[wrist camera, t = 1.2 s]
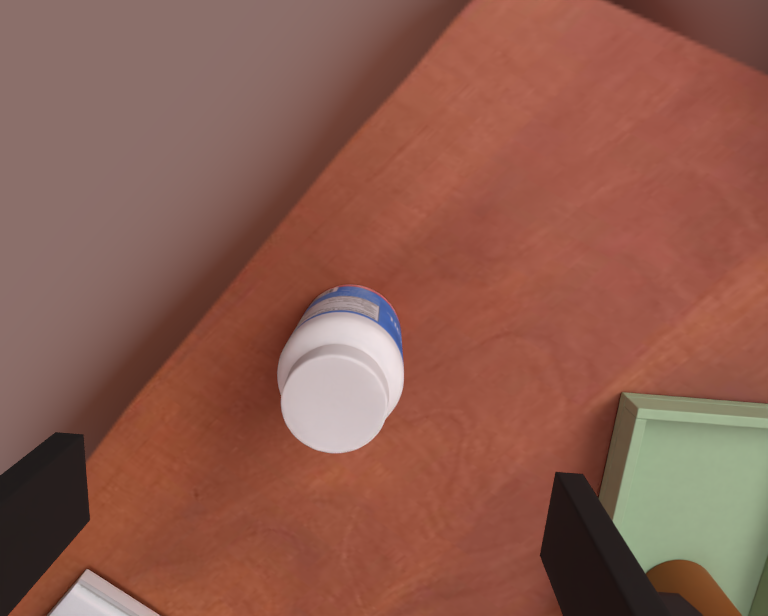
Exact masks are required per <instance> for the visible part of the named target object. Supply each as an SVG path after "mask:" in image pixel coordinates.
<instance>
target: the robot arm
mask: <svg viewBox="0 0 768 616" xmlns="http://www.w3.org/2000/svg"><path fill="white" fill-rule="evenodd" d="M89 521H90V515H89V502H88V489H87V476H86V463H85V450H84V437H83V435H82V434H70V433H57V432H56V433H54V434H53V435H52V436H50V437H49V438H48V439H46V440H45V441H44V442H43V443H41V444H40V445H39V446H37V447H36V448H35V449H34V450H33V451H31V452H30V453H29V454H27V455H26V456H25V457H23V458H22V459H21V460H20V461H18V462H17V463H16V464H14V465H13V466H12V467H11V468H9V469H8V470H7V471H5V472H4V473H3V474H2V475H0V616H8V615H9V613H10V612H11V611H12V610H13V609H14V608H15V606H16V605H17V604H18V603H19V602H20V601H21V599H22V598H23V597H24V596H25V595H26V594H27V593H28V591H29V590H30V589H31V588H32V587H33V586H34V584H35V583H36V582H37V581H38V580H39V579H40V577H41V576H42V575H43V574H44V573H45V572H46V570H47V569H48V568H49V567H50V566H51V565H52V564H53V562H54V561H55V560H56V559H57V558H58V557H59V555H60V554H61V553H62V552H63V551H64V550H65V548H66V547H67V546H68V545H69V544H70V543H71V541H72V540H73V539H74V538H75V537H76V536H77V535H78V533H79V532H80V531H81V530H82V529H83V528H84V526H85V525H86V524H87V523H88V522H89ZM540 557H541V559H542V562H543V564H544V567H545V570H546V572H547V575H548V577H549V580H550V583H551V585H552V588H553V590H554V593H555V596H556V598H557V601H558V603H559V606H560V609H561V611H562V614H563V616H703V615H702V613H700V612H699V611H698V610H697V609H696V608H695V607H694V606H692V605H691V604H690V603H689V602H688V601H687V600H686V599H684V598H683V597H682V596H681V595H680V594H679V593H667V592H657V591H656V590H655V588H654V586H653V585H652V583H651V582H650V580H649V579H648V577H647V575H646V574H645V572H644V571H643V569H642V567H641V566H640V564H639V563H638V561H637V559H636V558H635V556H634V555H633V553H632V551H631V550H630V548H629V547H628V545H627V543H626V542H625V540H624V539H623V537H622V536H621V534H620V532H619V531H618V529H617V528H616V526H615V524H614V523H613V521H612V520H611V518H610V516H609V515H608V513H607V512H606V510H605V508H604V507H603V505H602V504H601V502H600V500H599V499H598V497H597V496H596V494H595V492H594V491H593V489H592V488H591V486H590V485H589V483H588V481H587V480H586V478H585V477H584V475H583V474H575V473H563V472H555V478H554V483H553V488H552V494H551V499H550V505H549V510H548V515H547V521H546V526H545V531H544V537H543V542H542V547H541V553H540Z"/></svg>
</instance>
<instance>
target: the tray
mask: <svg viewBox="0 0 768 616" xmlns="http://www.w3.org/2000/svg"><path fill="white" fill-rule="evenodd" d="M598 499H599V500H600V502H601V504H602V505H603V507H604V508H605V510H606V512H607V513H608V515H609V516H610V518H611V520H612V521H613V523H614V524H615V526H616V528H617V529H618V531H619V532H620V534H621V536H622V537H623V539H624V540H625V542H626V543H627V545H628V547H629V548H630V550H631V551H632V553H633V555H634V556H635V558H636V559H637V561H638V563H639V564H640V566H641V567H642V569H643V571H644V572H645V574H646V573H647V572H648V571H650V570H651V569H652V568H654V567H655V566H657V565H659V564H661V563H663V562H667V561H671V560H688V561H692V562H695V563H697V564H699V565H701V566H702V567H704V568H705V569H706V570H707V571H708V572H709V574H710V575H711V576H712V578H713V579H714V580H715V581H716V583H717V584H718V585H719V586H720V588H721V589H722V590H723V592H724V593H725V594H726V595H727V597H728V598H729V599H730V601H731V602H732V603H733V604H734V606H735V607H736V608H737V610H738V611H739V612H740V613H741V615H742V616H768V404H763V403H750V402H738V401H725V400H713V399H700V398H688V397H675V396H663V395H650V394H638V393H625V392H622V394H621V398H620V403H619V407H618V412H617V416H616V421H615V425H614V430H613V435H612V439H611V444H610V448H609V453H608V457H607V462H606V466H605V471H604V476H603V480H602V485H601V489H600V494H599V498H598Z"/></svg>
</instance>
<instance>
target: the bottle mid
mask: <svg viewBox="0 0 768 616" xmlns="http://www.w3.org/2000/svg"><path fill="white" fill-rule="evenodd" d="M646 575H647V577H648V579H649V580H650V582H651V583H652V585H653V586H654V588H655V590H656V591H657V592H667V593H679V594H680V595H681V596H682V597H683V598H684V599H686V600H687V601H688V602H689V603H690V604H691V605H692V606H694V607H695V608H696V609H697V610H698V611H699V612H700V613H702V615H703V616H742V615H741V613H740V612H739V611H738V610H737V608H736V607H735V606H734V604H733V603H732V602H731V601H730V599H729V598H728V597H727V595H726V594H725V593H724V592H723V590H722V589H721V588H720V586H719V585H718V584H717V583H716V581H715V580H714V579H713V578H712V576H711V575H710V574H709V572H708V571H707V570H706V569H705V568H704V567H702V566H701V565H699V564H697V563H695V562H692V561H688V560H671V561H667V562H663V563H661V564H659V565H657V566H655V567H654V568H652V569H651V570H650V571H648V572H647V573H646Z"/></svg>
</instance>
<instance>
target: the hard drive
mask: <svg viewBox="0 0 768 616" xmlns="http://www.w3.org/2000/svg"><path fill="white" fill-rule="evenodd" d="M46 616H160V615H159V614H157V613H156V612H154V611H153V610H151V609H149V608H148V607H146V606H145V605H143V604H141V603H140V602H138V601H137V600H135V599H134V598H132V597H131V596H129V595H128V594H126V593H124V592H123V591H121V590H120V589H118V588H117V587H115V586H113V585H112V584H110V583H109V582H107V581H106V580H104V579H103V578H101V577H100V576H98V575H96V574H95V573H93V572H92V571H90V570H89V569H86V570H85V571H84V573H83V574H82V575H81V576H80V577H79V578H78V579H77V581H76V582H75V583H74V584H73V585H72V586H71V588H70V589H69V590H68V591H67V592H66V593H65V595H64V596H63V597H62V598H61V599H60V600H59V602H58V603H57V604H56V605H55V606H54V607H53V608H52V610H51V611H50V612H49V613H48V614H47V615H46Z"/></svg>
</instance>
